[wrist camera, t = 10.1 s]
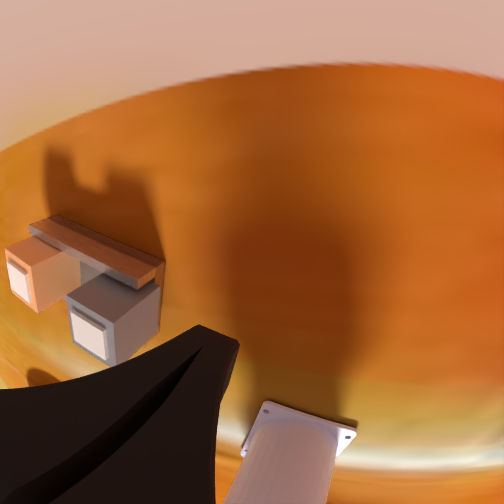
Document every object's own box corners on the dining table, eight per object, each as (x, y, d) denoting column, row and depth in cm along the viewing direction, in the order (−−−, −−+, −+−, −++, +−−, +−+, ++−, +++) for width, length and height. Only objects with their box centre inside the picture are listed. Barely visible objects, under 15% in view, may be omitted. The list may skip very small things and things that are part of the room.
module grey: (157, 331, 22) (113, 373, 17) (115, 309, 23) (70, 344, 18) (160, 285, 20) (109, 325, 15) (115, 265, 21) (62, 296, 16)
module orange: (81, 286, 23) (35, 315, 18) (53, 269, 24) (9, 293, 19) (79, 243, 22) (27, 268, 17) (50, 229, 22) (1, 249, 18)
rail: (159, 332, 23) (136, 354, 21) (59, 277, 26) (36, 290, 23) (165, 261, 21) (137, 280, 18) (56, 214, 23) (29, 224, 20)
